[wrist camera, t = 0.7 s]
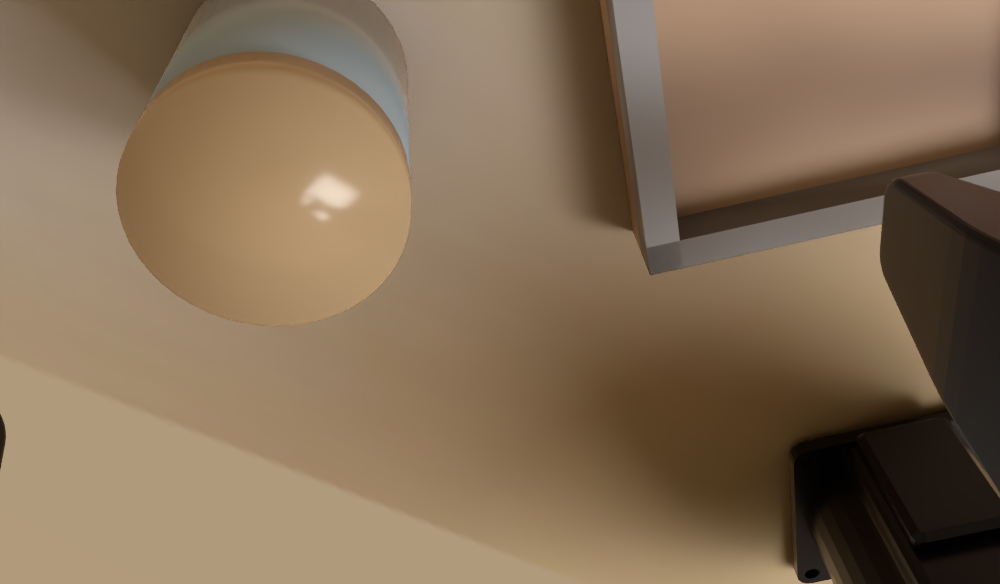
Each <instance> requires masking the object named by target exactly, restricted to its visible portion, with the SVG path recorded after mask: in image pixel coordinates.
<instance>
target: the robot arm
mask: <svg viewBox="0 0 1000 584" xmlns="http://www.w3.org/2000/svg"><path fill="white" fill-rule="evenodd" d="M880 262H881V267H882V271H883V275H884V277H885V280H886V282H887V284H888V286H889V288H890V291H891V293H892V295H893V297H894V299H895V301H896V303H897V306H898V308H899V310H900V312H901V314H902V316H903V319H904V321H905V323H906V325H907V327H908V329H909V331H910V334H911V336H912V338H913V340H914V342H915V344H916V347H917V349H918V351H919V353H920V355H921V357H922V360H923V362H924V364H925V366H926V368H927V370H928V372H929V375H930V377H931V379H932V381H933V383H934V385H935V387H936V389H937V391H938V393H939V395H940V397H941V399H942V401H943V403H944V404H945V406H946V408H947V410H948V411H947V412H942V413H938V414H933V415H928V416H923V417H919V418H914V419H909V420H904V421H900V422H895V423H890V424H885V425H881V426H876V427H871V428H867V429H862V430H857V431H852V432H848V433H843V434H838V435H833V436H829V437H824V438H819V439H814V440H810V441H805V442H802V443H799V444H798V445H796V446H795V447H793V449H792V450H791V451H790V455H789V463H790V489H791V515H792V541H793V566H794V570H795V572H796V575H797V577H798V579H799V581H801V582H803V583H814V582H819V581H824V580H829V579H832V581H833V584H1000V192H999V191H995V190H992V189H989V188H986V187H983V186H979V185H976V184H973V183H970V182H967V181H963V180H960V179H957V178H954V177H951V176H947V175H944V174H941V173H938V172H925V173H920V174H914V175H909V176H904V177H899V178H895V179H893V180H892V181H891V182H890V183H889V184H888V185H887V188H886V191H885V194H884V204H883V218H882V231H881V244H880ZM5 439H6V432H5V425H4V422H3V419H2V417H1V415H0V468H1V463H2V458H3V452H4V447H5ZM809 456H810V457H809ZM806 457H808V458H806ZM805 458H806V459H805Z"/></svg>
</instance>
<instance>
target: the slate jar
mask: <svg viewBox="0 0 1000 584" xmlns="http://www.w3.org/2000/svg"><path fill="white" fill-rule="evenodd" d="M116 196H117V204H118V211H119V215H120V219H121V222H122V226H123V229H124V231H125V233H126V236H127V238H128V240H129V242H130V244H131V246H132V247H133V249H134V251H135V252H136V254H137V256H138V257H139V259H140V260H141V261H142V262H143V264H144V265H145V266H146V267H147V269H148V270H149V271H150V272H151V273H152V274H153V275H154V276H155V277H156V278H157V279H158V280H159V281H160V282H161V283H162V284H163V285H164V286H166V287H167V288H168V289H170V290H171V291H172V292H173V293H175V294H176V295H177V296H179V297H181V298H182V299H184V300H185V301H187V302H189V303H190V304H192V305H194V306H196V307H198V308H200V309H202V310H204V311H206V312H209V313H211V314H214V315H217V316H220V317H222V318H225V319H229V320H233V321H237V322H241V323H247V324H254V325H263V326H288V325H299V324H305V323H311V322H315V321H319V320H322V319H326V318H329V317H331V316H334V315H336V314H339V313H341V312H344V311H346V310H347V309H349V308H351V307H353V306H355V305H356V304H358V303H360V302H361V301H362V300H364V299H365V298H366V297H368V296H369V295H371V294H372V293H373V292H374V291H375V290H376V289H377V288H378V287H379V286H380V285H381V284H382V283H383V282H384V281H385V280H386V278H387V277H388V276H389V275H390V273H391V272H392V271H393V269H394V267H395V266H396V264H397V262H398V261H399V259H400V257H401V255H402V252H403V250H404V247H405V245H406V242H407V238H408V233H409V229H410V220H411V187H410V149H409V112H408V78H407V66H406V61H405V56H404V52H403V49H402V46H401V44H400V41H399V38H398V36H397V34H396V32H395V31H394V29H393V27H392V25H391V24H390V22H389V21H388V19H387V18H386V16H385V15H384V14H383V12H382V11H381V10H380V9H379V8H378V7H377V6H376V5H375V3H374V2H372V1H371V0H205V1H204V2H203V3H202V5H201V6H200V7H199V8H198V10H197V12H196V13H195V15H194V17H193V18H192V20H191V22H190V24H189V26H188V28H187V29H186V31H185V33H184V35H183V37H182V39H181V41H180V43H179V45H178V47H177V49H176V50H175V52H174V54H173V56H172V58H171V60H170V62H169V64H168V66H167V68H166V70H165V71H164V73H163V75H162V77H161V79H160V81H159V83H158V85H157V87H156V89H155V90H154V92H153V94H152V96H151V98H150V100H149V102H148V104H147V106H146V108H145V110H144V111H143V113H142V115H141V117H140V119H139V121H138V123H137V125H136V127H135V129H134V130H133V132H132V134H131V136H130V138H129V140H128V142H127V144H126V146H125V149H124V152H123V154H122V157H121V159H120V164H119V169H118V174H117V186H116Z"/></svg>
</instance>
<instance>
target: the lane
mask: <svg viewBox="0 0 1000 584" xmlns="http://www.w3.org/2000/svg"><path fill="white" fill-rule="evenodd" d="M600 7H601V14H602V21H603V27H604V34H605V41H606V48H607V55H608V62H609V68H610V75H611V82H612V89H613V96H614V103H615V110H616V116H617V123H618V130H619V137H620V144H621V151H622V158H623V164H624V171H625V178H626V185H627V192H628V199H629V206H630V212H631V219H632V226H633V233H634V235H635V238H636V240H637V243H638V245H639V248H640V250H641V253H642V255H643V258H644V260H645V263H646V266H647V268H648V271H649V273H650V275H654V274H658V273H663V272H667V271H672V270H676V269H681V268H685V267H690V266H694V265H699V264H703V263H708V262H712V261H717V260H722V259H726V258H731V257H735V256H740V255H744V254H749V253H753V252H758V251H762V250H767V249H771V248H776V247H780V246H785V245H789V244H794V243H799V242H803V241H808V240H812V239H817V238H821V237H826V236H830V235H835V234H839V233H844V232H848V231H853V230H857V229H862V228H867V227H871V226H876V225H880V224H882V218H883V204H884V194H885V191H886V188H887V185H888V184H889V183H890V182H891V181H892V180H893V179H895V178H899V177H904V176H909V175H914V174H920V173H925V172H938V173H941V174H944V175H947V176H951V177H954V178H957V179H960V180H963V181H967V182H970V183H973V184H976V185H979V186H983V187H986V188H989V189H992V190H995V191H999V192H1000V0H600Z"/></svg>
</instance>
